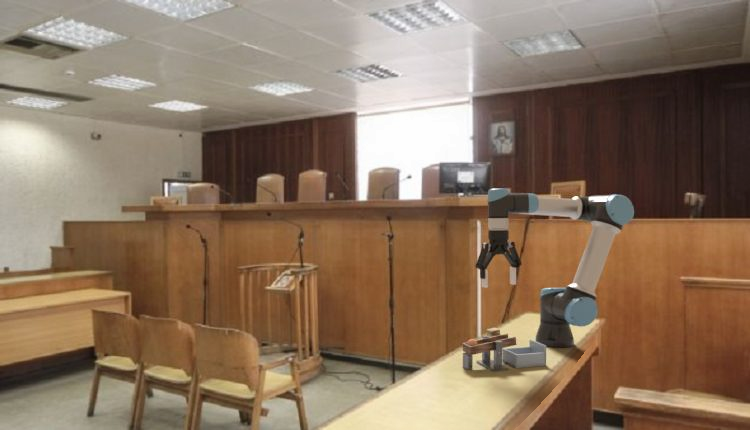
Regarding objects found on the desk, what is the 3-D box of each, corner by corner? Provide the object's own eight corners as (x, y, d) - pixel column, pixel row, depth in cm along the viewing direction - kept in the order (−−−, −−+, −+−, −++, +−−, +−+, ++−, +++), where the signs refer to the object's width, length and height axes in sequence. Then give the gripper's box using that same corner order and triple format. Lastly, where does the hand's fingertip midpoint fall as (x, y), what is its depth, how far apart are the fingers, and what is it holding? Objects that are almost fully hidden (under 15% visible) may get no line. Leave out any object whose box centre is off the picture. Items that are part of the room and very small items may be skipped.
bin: (530, 358, 198) (531, 339, 198) (546, 365, 189) (546, 345, 189) (502, 361, 194) (502, 341, 194) (516, 368, 186) (516, 347, 185)
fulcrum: (491, 361, 194) (491, 334, 194) (507, 369, 183) (508, 342, 183) (458, 363, 190) (458, 337, 190) (473, 372, 179) (473, 344, 179)
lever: (496, 336, 200) (495, 327, 200) (516, 344, 187) (515, 335, 187) (452, 345, 195) (451, 336, 195) (470, 355, 182) (469, 345, 182)
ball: (476, 343, 188) (471, 336, 187) (480, 345, 184) (476, 338, 184) (468, 349, 187) (463, 342, 186) (473, 352, 183) (468, 344, 183)
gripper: (516, 228, 211) (517, 282, 211) (465, 230, 200) (466, 287, 200) (530, 228, 204) (531, 284, 205) (478, 231, 193) (478, 290, 193)
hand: (499, 286), depth 202 cm, fingers open, 13 cm apart
